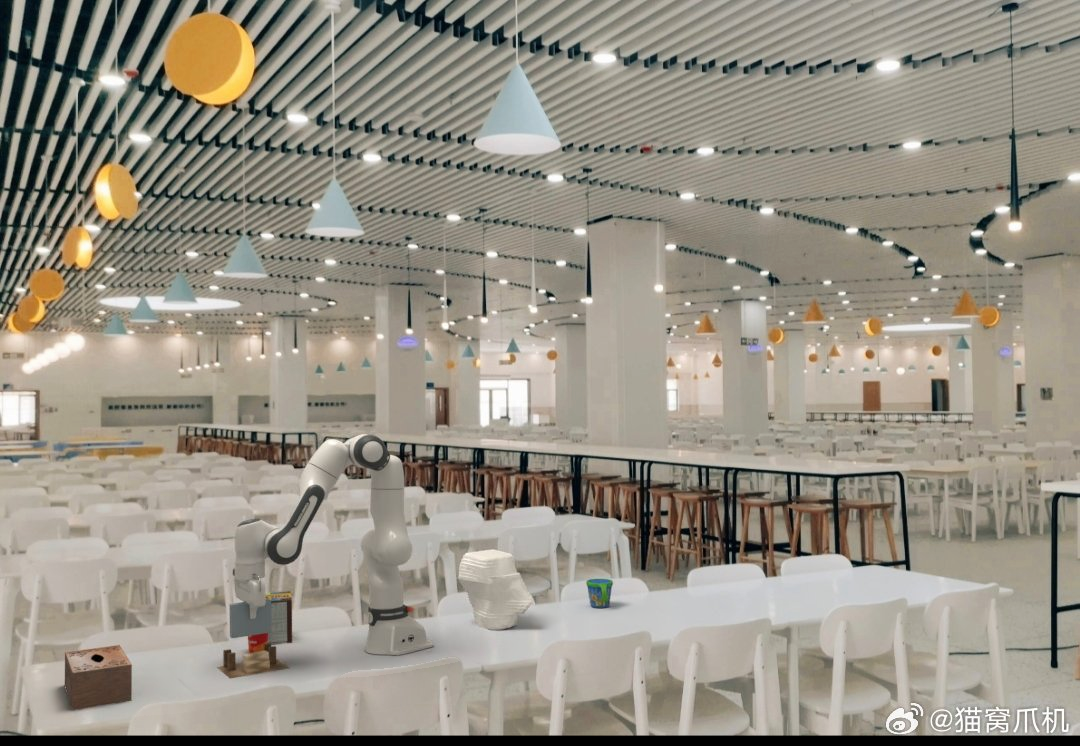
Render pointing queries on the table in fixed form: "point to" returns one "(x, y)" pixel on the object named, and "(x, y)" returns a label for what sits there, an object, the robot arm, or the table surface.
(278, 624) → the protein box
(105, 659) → the tissue box cover
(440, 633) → the table surface
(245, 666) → the offcut lower
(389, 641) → the robot arm
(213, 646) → the table surface
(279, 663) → the rack
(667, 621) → the table surface
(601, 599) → the snack cup
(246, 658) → the offcut upper
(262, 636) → the paper cup
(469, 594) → the white faceted lump
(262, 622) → the panel
